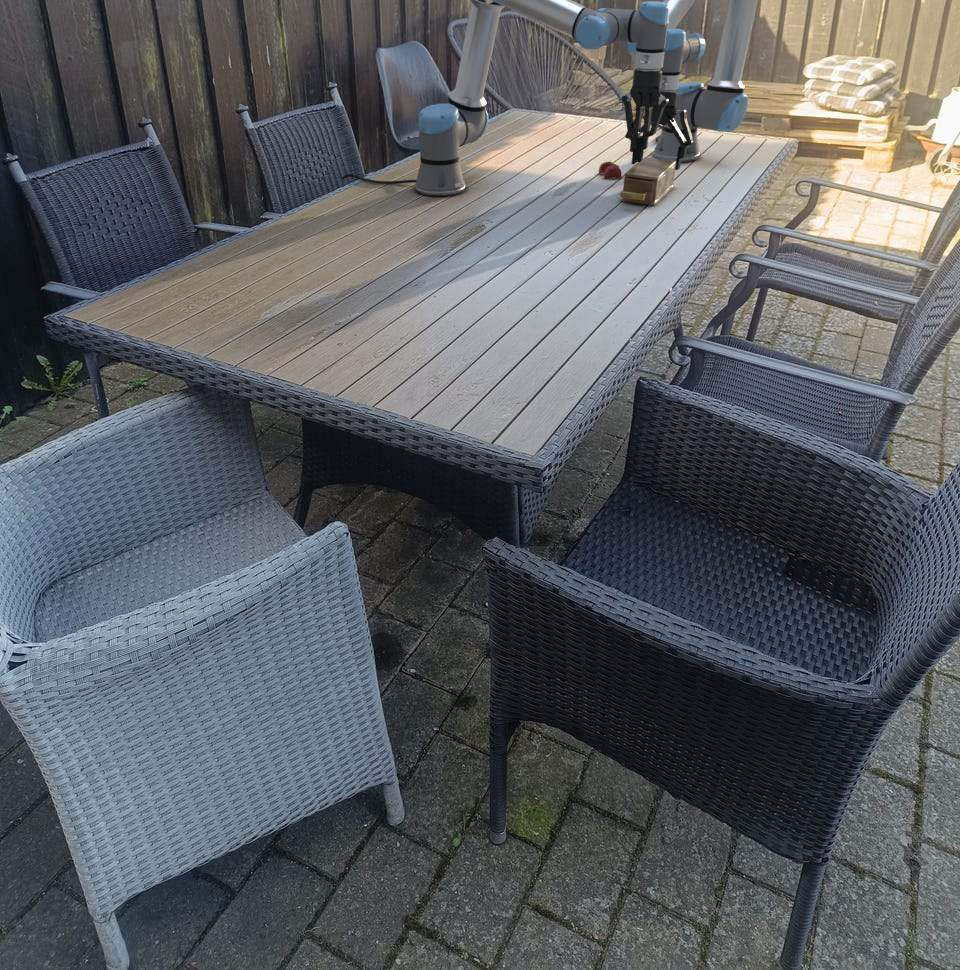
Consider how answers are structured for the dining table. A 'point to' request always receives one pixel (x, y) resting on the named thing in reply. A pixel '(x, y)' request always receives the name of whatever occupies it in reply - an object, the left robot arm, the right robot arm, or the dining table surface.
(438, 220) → the dining table surface
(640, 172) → the cabinet
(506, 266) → the dining table surface
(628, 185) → the drawer
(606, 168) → the dental model
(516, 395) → the dining table surface
